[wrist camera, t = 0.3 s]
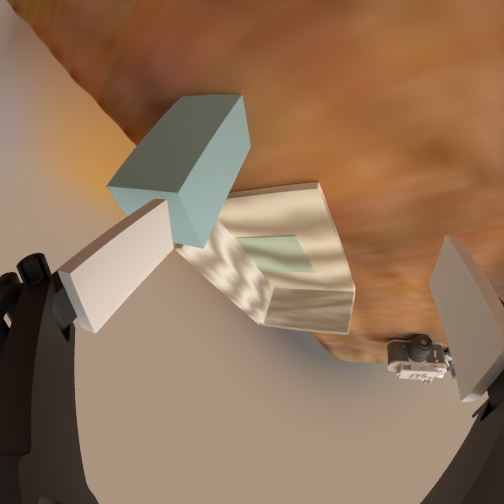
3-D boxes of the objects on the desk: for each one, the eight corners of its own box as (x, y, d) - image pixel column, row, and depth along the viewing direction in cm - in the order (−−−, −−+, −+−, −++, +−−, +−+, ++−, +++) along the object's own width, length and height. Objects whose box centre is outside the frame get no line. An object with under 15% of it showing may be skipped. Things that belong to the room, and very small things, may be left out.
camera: (437, 352, 58) (442, 384, 50) (384, 348, 62) (384, 382, 54) (452, 329, 53) (460, 363, 45) (396, 323, 57) (398, 360, 49)
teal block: (181, 96, 23) (106, 186, 17) (242, 94, 21) (177, 193, 16) (196, 143, 28) (140, 235, 22) (250, 147, 26) (203, 248, 21)
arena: (198, 197, 36) (172, 248, 32) (318, 181, 28) (305, 246, 24) (270, 285, 53) (258, 325, 49) (355, 289, 45) (348, 334, 41)
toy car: (413, 385, 63) (440, 380, 52) (417, 352, 67) (443, 344, 57) (452, 390, 62) (478, 385, 52) (456, 360, 67) (481, 352, 57)
